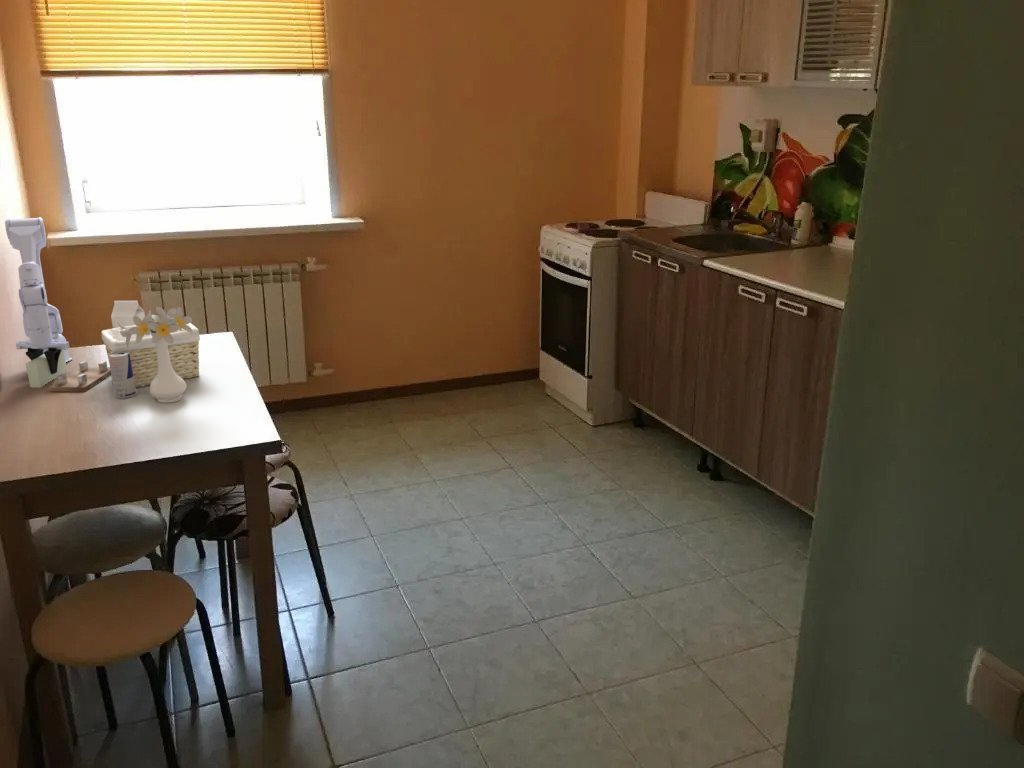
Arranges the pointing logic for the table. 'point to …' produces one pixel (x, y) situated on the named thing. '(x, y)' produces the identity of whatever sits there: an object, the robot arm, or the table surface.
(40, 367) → the door panel
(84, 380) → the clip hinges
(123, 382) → the energy drink
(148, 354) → the storage basket
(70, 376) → the mount plate
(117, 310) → the milk carton
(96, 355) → the table surface
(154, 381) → the flower vase
